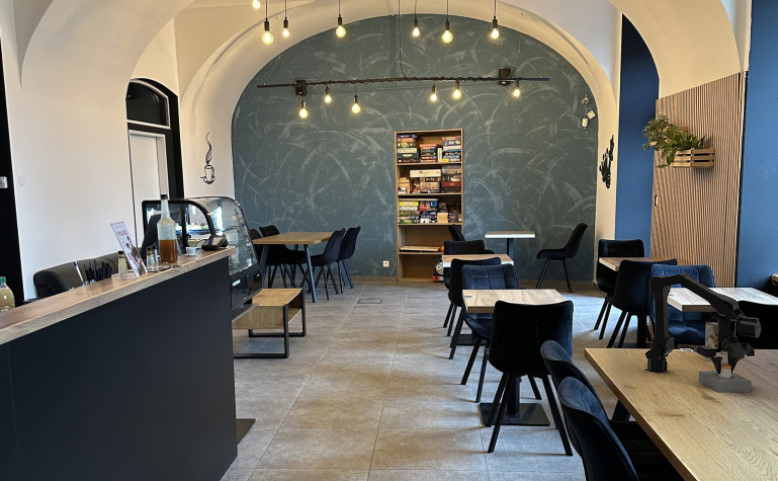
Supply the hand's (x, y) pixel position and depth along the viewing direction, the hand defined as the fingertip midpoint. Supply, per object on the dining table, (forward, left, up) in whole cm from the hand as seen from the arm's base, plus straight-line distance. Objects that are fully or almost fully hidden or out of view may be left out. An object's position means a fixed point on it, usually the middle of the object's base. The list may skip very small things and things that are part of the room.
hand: (724, 373), depth 207 cm
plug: (0, 0, -5) cm, 5 cm away
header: (0, 0, -6) cm, 6 cm away
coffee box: (+19, +34, -6) cm, 39 cm away
